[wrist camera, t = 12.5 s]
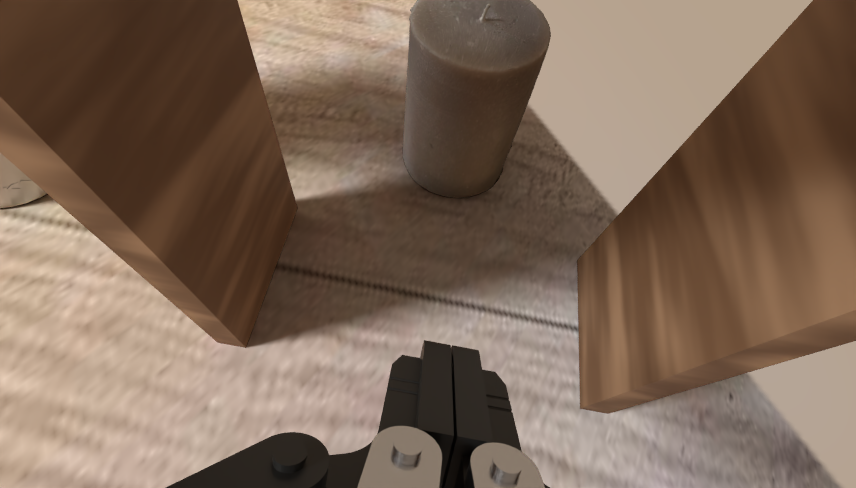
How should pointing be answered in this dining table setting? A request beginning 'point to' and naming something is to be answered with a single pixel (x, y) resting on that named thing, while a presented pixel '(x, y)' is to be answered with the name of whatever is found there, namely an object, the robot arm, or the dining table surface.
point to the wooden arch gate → (597, 268)
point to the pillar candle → (468, 89)
